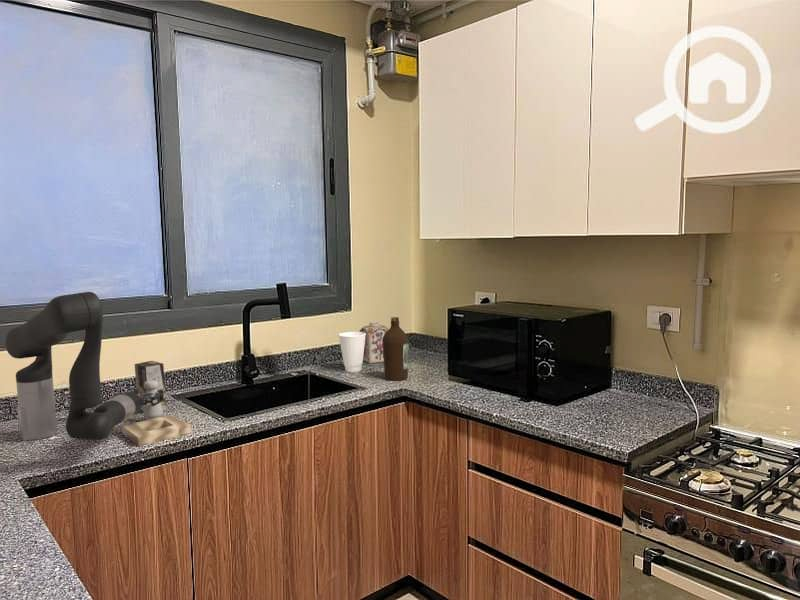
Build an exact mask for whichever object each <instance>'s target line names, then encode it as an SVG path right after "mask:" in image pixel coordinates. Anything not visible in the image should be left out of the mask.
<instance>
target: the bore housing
mask: <svg viewBox="0 0 800 600" xmlns="http://www.w3.org/2000/svg"><path fill="white" fill-rule="evenodd" d="M191 426H192V425H191V424H189V423H188V422H186V421H184V420H182V419H180V418H178V417H177V416H175V415H173V414H169V415H165V416H162V417H159V418H154V419H150V420H146V419H145V420H141V421H137V422H132V423H128V424H124V425H121V431H122V432H121V434H122V435H124V437H126V438H128V439H129V440H130V441H132V442H133V443H134V444H135V445H137V446H139V447H141V446H145V445H149V444H154V443H157V442H161V441H165V440H169V439H173V437H174V438H177V436H178V437H181V435H182V436H187V435H189V434H190V433H191V434H192V427H191ZM186 434H187V435H186ZM153 442H154V443H153Z"/></svg>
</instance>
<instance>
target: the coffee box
mask: <svg viewBox="0 0 800 600" xmlns="http://www.w3.org/2000/svg"><path fill="white" fill-rule="evenodd" d="M164 369H165V368H164V363H162V362H158V361H154V360H148V361H143V362H140V363H139V362H138V363H134V373H135V374H134V375H135V386H136V389H135V390H137V394H144V393H146V389H145V388H144V383H145V382H146V381H149V380H156V381H157V382H158V387H157V391H159V390H163V391H164V401H163V402H161V406H162V410H163V411H166V410H167V401H166V400H167V398H166V397H167V396H166V383H165V370H164ZM140 411H142V412H144V406H143V407H142V408H141V410H140Z"/></svg>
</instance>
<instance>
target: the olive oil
mask: <svg viewBox="0 0 800 600" xmlns="http://www.w3.org/2000/svg"><path fill="white" fill-rule="evenodd" d="M388 329H389V330H388V331H387V332H386V333H385V335H384V336H383V340H382V344H383V356H384V362H383V368H384V371H383V372H384V378H385V380H387V381H391V382H392V381H393V382H397V381H398V382H399V381H405V380H407V379H408V378H409V346H410V345H409V343H410V342H409V337H408V335H407V333H406V332H405V331H404V330H403V329H402V328H401V327H400V317H398V316H393V317H392V316H391V317H390V327H389V328H388Z"/></svg>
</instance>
